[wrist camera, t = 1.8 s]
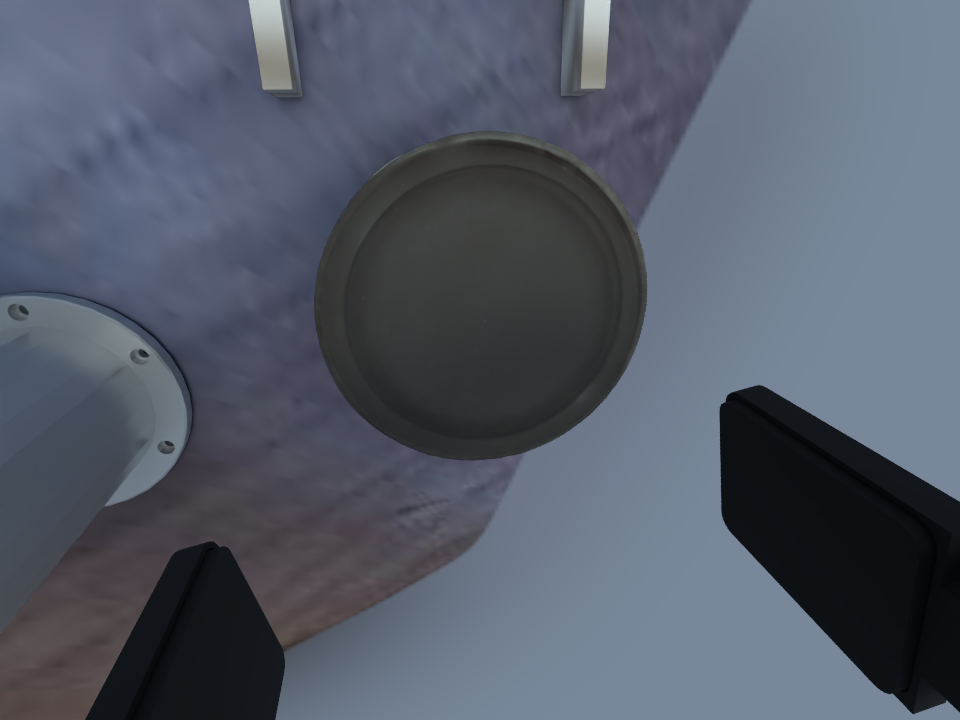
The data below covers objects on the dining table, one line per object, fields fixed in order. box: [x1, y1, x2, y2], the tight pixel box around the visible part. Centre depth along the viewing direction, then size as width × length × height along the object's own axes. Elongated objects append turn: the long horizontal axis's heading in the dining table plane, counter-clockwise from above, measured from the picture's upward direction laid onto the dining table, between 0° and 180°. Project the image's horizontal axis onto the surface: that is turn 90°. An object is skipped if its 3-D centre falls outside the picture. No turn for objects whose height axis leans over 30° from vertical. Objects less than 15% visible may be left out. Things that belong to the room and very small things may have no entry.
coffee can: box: [314, 131, 647, 460], centre depth 22 cm, size 10×10×14 cm
